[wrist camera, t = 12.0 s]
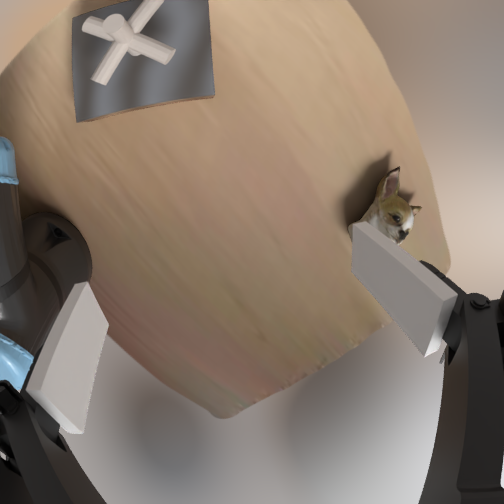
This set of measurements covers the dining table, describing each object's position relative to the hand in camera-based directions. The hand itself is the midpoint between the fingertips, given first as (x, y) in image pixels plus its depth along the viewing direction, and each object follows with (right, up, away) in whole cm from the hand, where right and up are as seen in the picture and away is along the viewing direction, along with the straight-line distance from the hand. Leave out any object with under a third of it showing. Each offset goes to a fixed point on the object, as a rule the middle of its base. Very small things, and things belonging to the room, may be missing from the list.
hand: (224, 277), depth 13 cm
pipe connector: (-11, +23, +10) cm, 28 cm away
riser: (-12, +25, +14) cm, 31 cm away
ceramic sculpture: (+21, +8, +31) cm, 38 cm away
